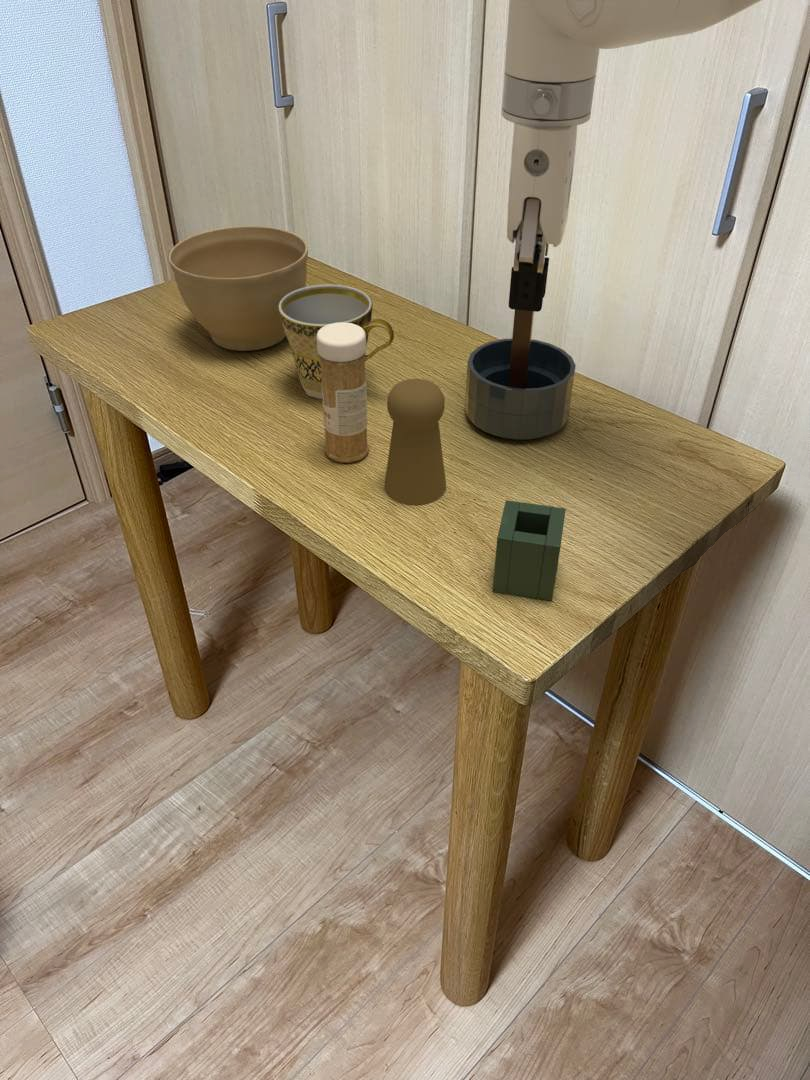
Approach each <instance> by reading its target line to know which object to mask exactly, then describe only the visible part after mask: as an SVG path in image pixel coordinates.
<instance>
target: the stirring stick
mask: <svg viewBox="0 0 810 1080" xmlns="http://www.w3.org/2000/svg"><path fill="white" fill-rule="evenodd" d="M535 250H537V251H538V252H539V248H538V247H535ZM534 317H535V311H525V310H515V309H514V314H513V324H512V325H513V326H512V336H511V337H512V347H511V358H510V370H509V381H508V387H512V388H521V389H526V386H527V376H528V367H529V357H530V348H531V339H533V337H532V336H533V328H534V327H533V326H534Z"/></svg>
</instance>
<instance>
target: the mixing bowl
mask: <svg viewBox="0 0 810 1080" xmlns="http://www.w3.org/2000/svg"><path fill="white" fill-rule="evenodd" d="M511 347H512V338H501V339H496V340H492V341H488V342H485V343H483V344H482V345H479V346H477V347H476V348H475V349H474V350H472V351H471V353H469V357H468V360H467V366H466V384H465V385H466V386H465V403H464V404H465V407H464V409H465V413H466V416H467V418H468V420H469V421H470V422H471V423H472V424H473V425H474V426H475V427H477V428H478V429H480V430H482V431H483V432H485V433H488V434H490V435H493V436H496V437H499V438H502V439H507V440H512V441H513V440H514V441H525V440H526V441H527V440H528V441H529V440H534V439H538V438H542V437H546V436H549V435H553V434H554V433H556V432H557V431H560V430H561V429H562V428H563V427H564V426H565V425H566V424H567V422H568V421H569V414H570V407H571V401H572V395H573V394H572V393H573V386H574V380H575V373H576V367H577V366H576V363H575V361H574V359H573V357H572V356H571V355H570V354H568V353H567V351H566V350H564V349H563V348H560V347H559V346H556V345H555V344H552V343H549V342H545V341H542V340H539V339H533V338H531V348H530V357H529V367H528V376H527V386H526V389H521V388H512V387H508V381H509V370H510V358H511Z"/></svg>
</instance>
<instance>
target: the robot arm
mask: <svg viewBox="0 0 810 1080" xmlns="http://www.w3.org/2000/svg"><path fill="white" fill-rule="evenodd" d="M760 2H762V0H509V2H508V14H507V15H508V17H507V30H506V31H507V32H506V42H505V43H506V44H505V46H506V47H505V61H504V75H503V90H502V102H501V103H502V104H501V117H502V118H503V119H504V120H506V121H508V122H510V123H513V135H512V145H511V157H510V168H509V169H510V170H509V172H510V173H509V185H508V199H507V221H506V222H507V223H506V238H507V240H508V241H509V242H510V243H511V244H515V245H514V256H513V266H511V272H510V282H509V295H508V308H509V309H511V310H514V311H515V310H525V311H534V313H535V312H536V313H539V312H541V311H542V308H543V302H544V298H545V296H546V290H547V281H548V272H549V264H550V257H548V253H549V245H552V247H553V248H557V247H559V245H561V244H562V242H563V238H564V234H565V230H566V226H567V221H568V216H569V208H570V207H569V206H570V199H571V190H572V182H573V175H574V166H575V159H576V149H577V136H578V126H580V125H583V124H585V123H587V122H588V121H590V119H591V117H592V116H591V115H592V106H593V99H594V92H595V83H596V77H597V70H598V65H599V64H598V62H599V57H600V56H599V55H600V50H602V49H603V50H611V49H612V50H613V49H619V48H624V47H629V46H634V45H640V44H641V45H642V44H644V43H648V42H652V41H658V40H662V39H669V38H673V37H680V36H686V35H690V34H695V33H697V32H700V31H703V30H706V29H708V28H710V27H712V26H715V25H716V24H719V23H721V22H723V21H725V20H727V19H729V18H731V17H732V16H735V15H737V14H738V13H740V12H742V11H744V10H747V9H748V8H750V7H752V6H753V5H755V4H757V3H760ZM535 247H538V248H539V252H538V251H537V250H535Z"/></svg>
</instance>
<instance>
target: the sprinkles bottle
mask: <svg viewBox="0 0 810 1080" xmlns="http://www.w3.org/2000/svg"><path fill="white" fill-rule="evenodd" d="M317 351H318V353H319V357H320V364H321V378H322V399H321V401H322V415H323V427H324V435H325V438H324V439H325V445H324V452H325V454H326V456H327V457H328V458H329V459H330V460H332V461H335V462H337V463H342V464H343V463H353V462H358V461H360V460H362V459H364V458H365V457H366V456H367V455H368V453H369V450H370V447H369V444H368V399H367V398H368V397H367V396H368V394H367V377H366V361H365V355H366V353H365V352H367V346H366V334H365V331H364V330H363V329H362V328H361V327H360V326H358V325H355V324H352V323H345V322H340V323H332V324H329V325H326V326H324V327H322V328H321V329H320V330H319V331H318V333H317Z"/></svg>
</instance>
